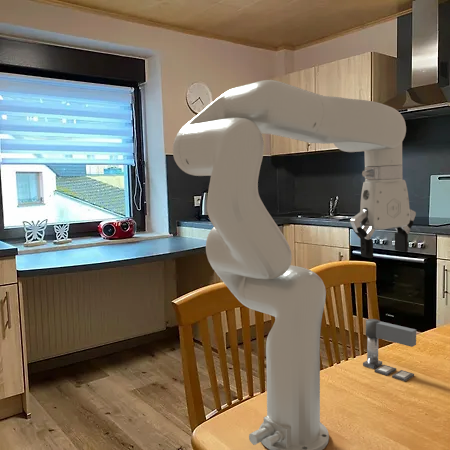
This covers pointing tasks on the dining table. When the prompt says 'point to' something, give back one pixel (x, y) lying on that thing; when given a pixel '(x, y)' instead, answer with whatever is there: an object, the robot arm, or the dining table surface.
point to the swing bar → (390, 332)
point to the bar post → (372, 353)
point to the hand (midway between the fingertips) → (384, 254)
